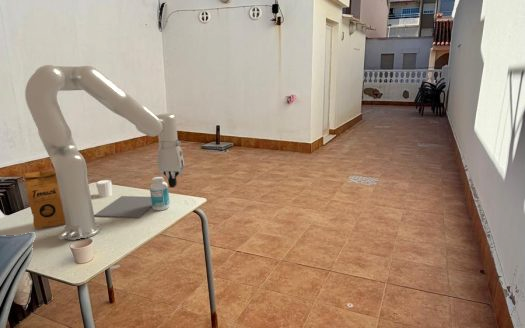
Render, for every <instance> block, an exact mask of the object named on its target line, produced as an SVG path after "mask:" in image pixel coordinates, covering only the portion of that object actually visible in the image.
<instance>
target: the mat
mask: <svg viewBox="0 0 525 328" xmlns="http://www.w3.org/2000/svg"><path fill="white" fill-rule="evenodd" d="M150 209H152V201H151V196H137V195H134V196H132V195H129V196H127V195H121V196H120V197H118V198H116V199H115V200H113V202H111V203H109V204H108V205H107V206H105V207H104V208H102V209H101V210H99V211H98V212H96V213H94V218H96V217H97V218H98V217H99V218H100V217H101V218H126V219H127V218H128V219H129V218H130V219H140V218H142V217H143V215H145V214H146V213H147V212H148V211H149V210H150Z"/></svg>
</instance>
